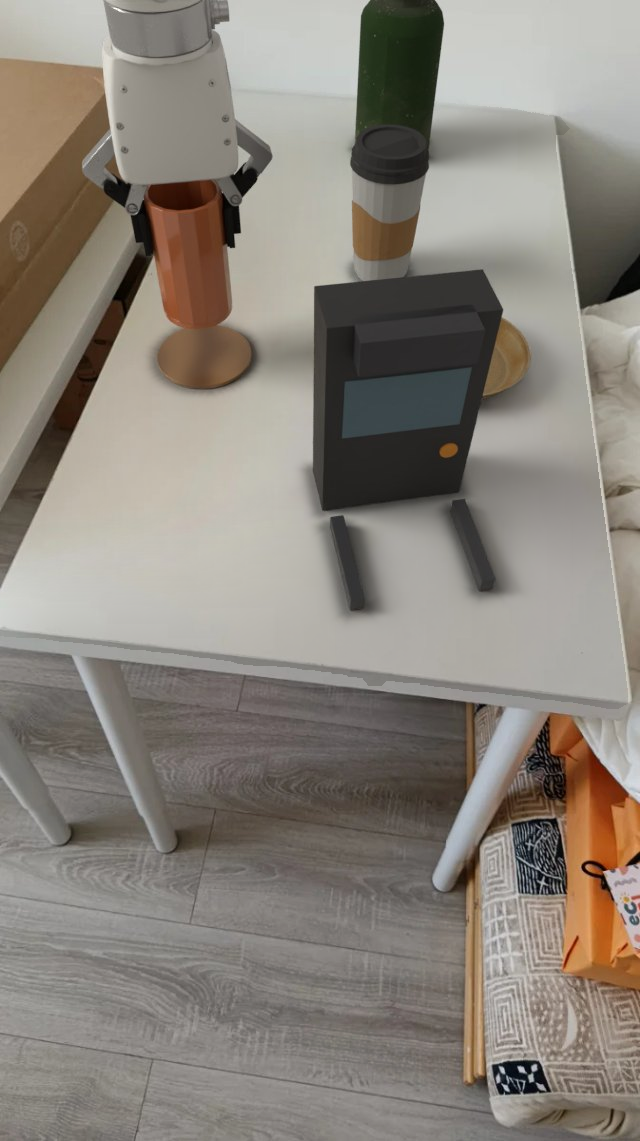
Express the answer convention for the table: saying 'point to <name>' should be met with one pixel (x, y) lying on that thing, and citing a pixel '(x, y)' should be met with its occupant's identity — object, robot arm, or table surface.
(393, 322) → the black box with legs
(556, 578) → the table surface
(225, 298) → the orange tube
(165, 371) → the coaster
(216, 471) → the table surface
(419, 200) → the coffee cup
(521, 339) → the plant saucer
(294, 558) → the table surface
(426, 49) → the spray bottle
